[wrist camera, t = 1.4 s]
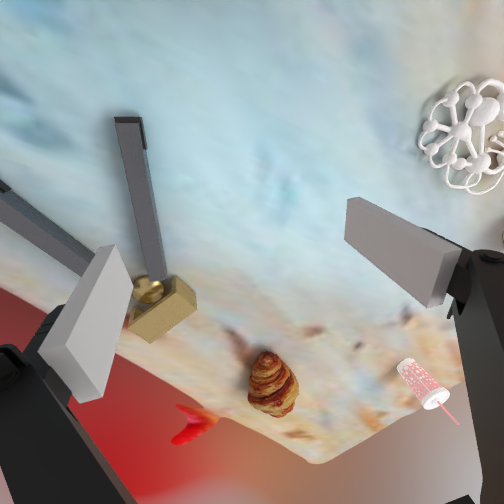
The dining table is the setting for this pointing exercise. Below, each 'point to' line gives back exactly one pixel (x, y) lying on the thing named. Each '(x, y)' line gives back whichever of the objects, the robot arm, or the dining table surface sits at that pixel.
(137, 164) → the tongs arm
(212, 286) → the dining table surface
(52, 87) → the dining table surface
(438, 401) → the beverage cup
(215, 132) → the dining table surface
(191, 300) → the tan block
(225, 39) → the dining table surface
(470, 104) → the tangled rod sculpture
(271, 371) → the croissant
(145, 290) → the tongs fixed arm
